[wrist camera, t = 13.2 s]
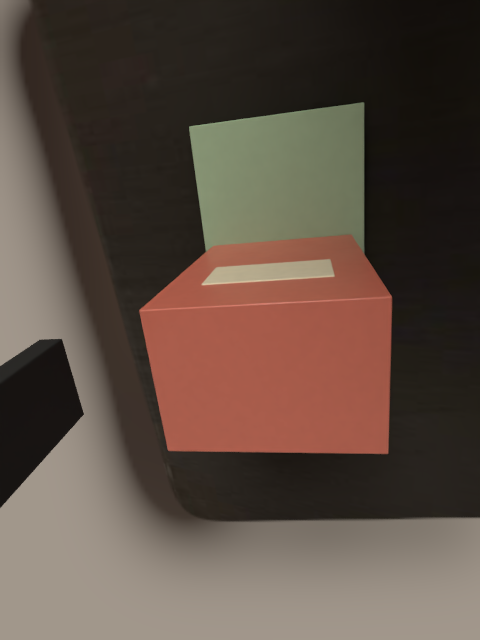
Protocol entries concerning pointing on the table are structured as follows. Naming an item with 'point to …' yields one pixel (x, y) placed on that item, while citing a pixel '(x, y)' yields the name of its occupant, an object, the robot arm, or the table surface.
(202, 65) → the table surface
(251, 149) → the mat
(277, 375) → the packet
